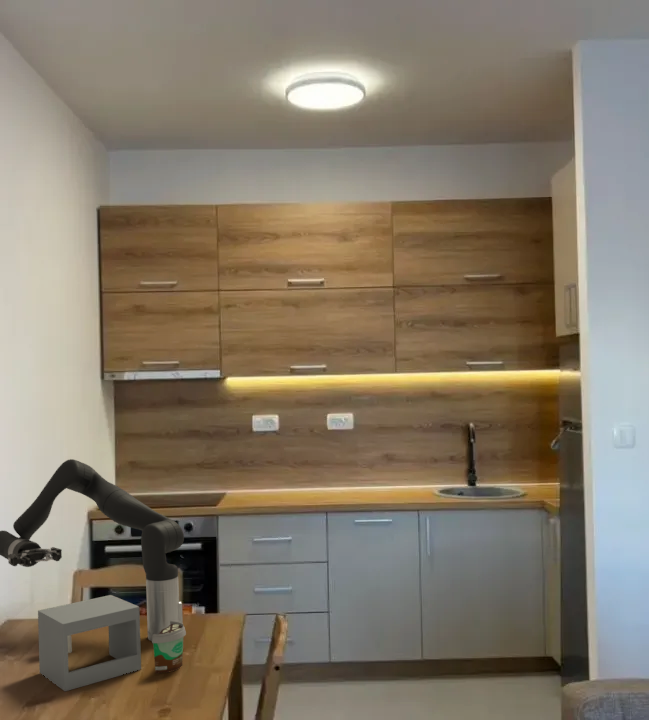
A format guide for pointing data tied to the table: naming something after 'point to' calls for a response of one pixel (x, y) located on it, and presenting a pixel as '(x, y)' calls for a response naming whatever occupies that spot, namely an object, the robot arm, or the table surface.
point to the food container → (169, 647)
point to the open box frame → (88, 617)
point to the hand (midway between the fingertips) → (43, 560)
